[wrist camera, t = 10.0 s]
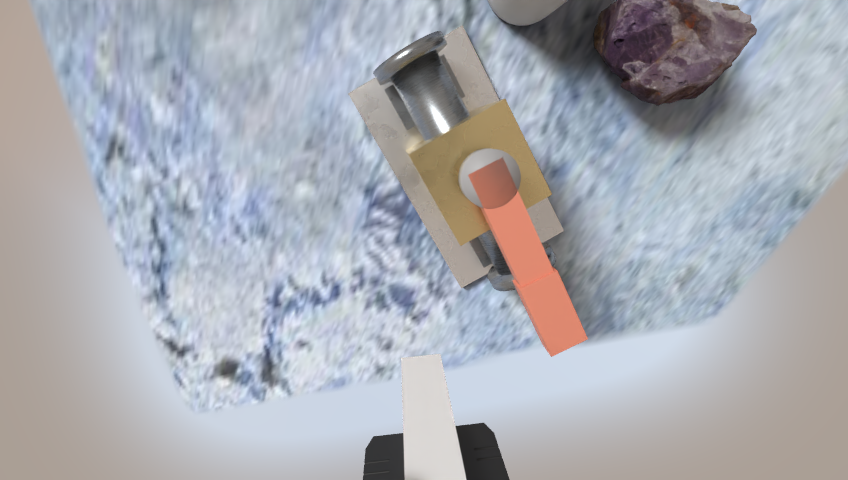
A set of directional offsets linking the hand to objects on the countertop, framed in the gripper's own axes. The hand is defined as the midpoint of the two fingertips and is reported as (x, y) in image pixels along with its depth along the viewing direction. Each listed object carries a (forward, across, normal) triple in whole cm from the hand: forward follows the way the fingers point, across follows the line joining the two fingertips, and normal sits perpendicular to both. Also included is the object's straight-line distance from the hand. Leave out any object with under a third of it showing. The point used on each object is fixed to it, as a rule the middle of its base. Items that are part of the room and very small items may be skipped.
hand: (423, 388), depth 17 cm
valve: (+28, +6, +6) cm, 30 cm away
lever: (+16, +8, +1) cm, 18 cm away
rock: (+29, +24, +15) cm, 40 cm away
